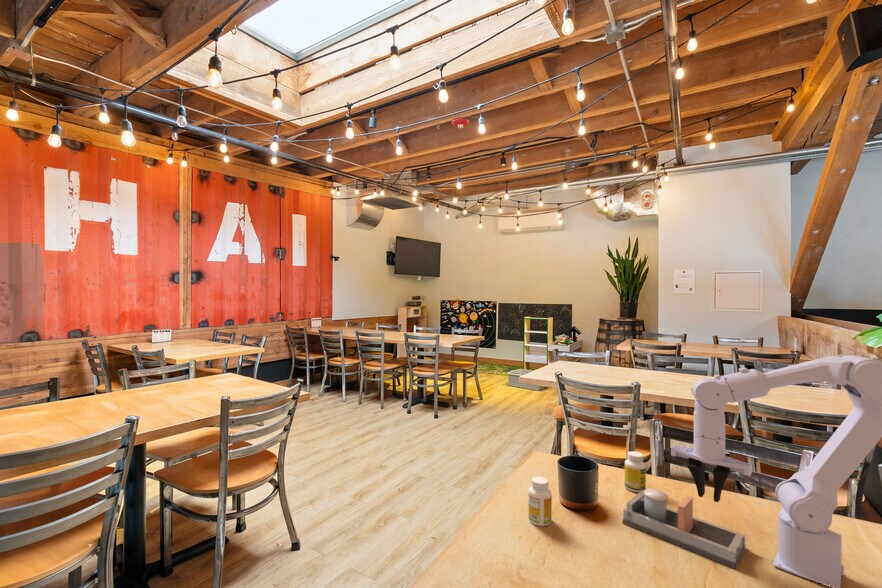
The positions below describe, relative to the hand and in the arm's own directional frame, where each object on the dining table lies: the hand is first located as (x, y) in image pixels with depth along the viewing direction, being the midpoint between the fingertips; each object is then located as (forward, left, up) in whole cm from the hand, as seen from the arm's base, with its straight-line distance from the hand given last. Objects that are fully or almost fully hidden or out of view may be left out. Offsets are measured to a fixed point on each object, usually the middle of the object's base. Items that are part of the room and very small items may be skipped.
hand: (709, 497), depth 87 cm
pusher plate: (+5, 0, -9) cm, 10 cm away
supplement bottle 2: (+21, -16, -11) cm, 29 cm away
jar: (+11, 0, -10) cm, 15 cm away
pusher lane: (+5, 0, -10) cm, 12 cm away
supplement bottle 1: (+30, +18, -11) cm, 37 cm away
